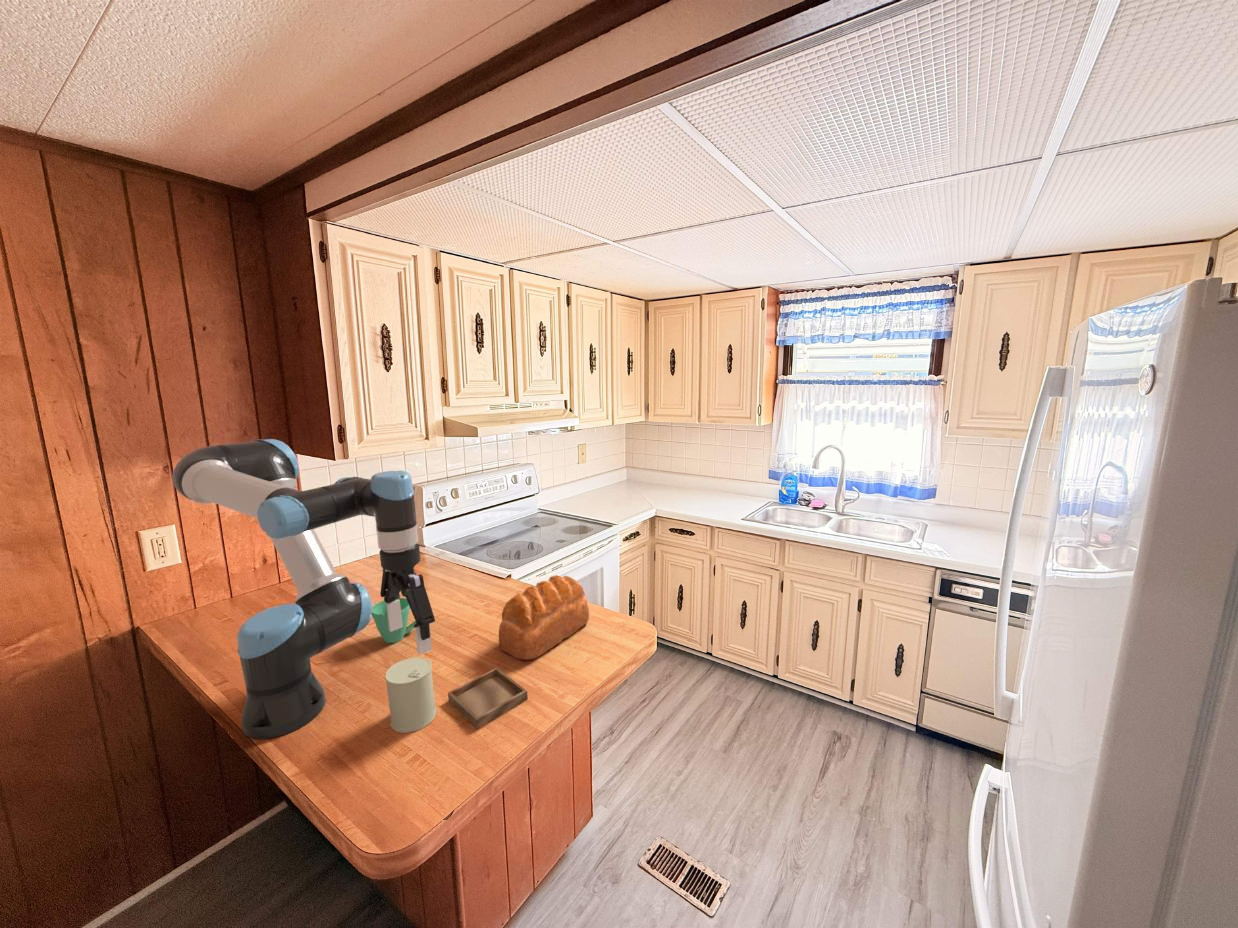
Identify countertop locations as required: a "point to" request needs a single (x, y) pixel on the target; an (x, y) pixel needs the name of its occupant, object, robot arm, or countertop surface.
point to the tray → (487, 697)
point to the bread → (542, 617)
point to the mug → (382, 621)
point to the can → (410, 694)
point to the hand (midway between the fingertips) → (409, 639)
